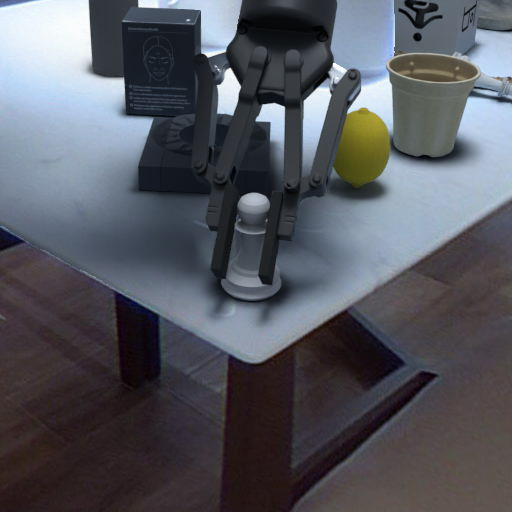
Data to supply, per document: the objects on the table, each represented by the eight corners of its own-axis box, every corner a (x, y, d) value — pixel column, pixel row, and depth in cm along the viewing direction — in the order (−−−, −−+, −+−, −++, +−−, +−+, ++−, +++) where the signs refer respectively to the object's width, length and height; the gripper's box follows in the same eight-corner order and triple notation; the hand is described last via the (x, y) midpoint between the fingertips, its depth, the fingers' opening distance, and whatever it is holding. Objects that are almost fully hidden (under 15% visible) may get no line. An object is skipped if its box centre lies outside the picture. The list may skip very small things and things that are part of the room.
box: (201, 100, 109) (202, 8, 104) (195, 118, 105) (195, 23, 99) (133, 96, 110) (130, 4, 105) (124, 114, 105) (120, 19, 100)
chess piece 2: (442, 93, 116) (522, 120, 113) (441, 77, 112) (524, 105, 109) (455, 61, 116) (535, 87, 114) (456, 45, 112) (539, 71, 109)
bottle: (83, 67, 118) (75, -58, 110) (121, 58, 121) (117, -64, 114) (110, 80, 114) (104, -49, 107) (150, 70, 118) (146, -55, 110)
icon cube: (485, -30, 126) (474, 44, 131) (412, -40, 130) (404, 32, 135) (463, -13, 118) (452, 65, 123) (387, -25, 122) (379, 52, 127)
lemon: (350, 205, 88) (358, 123, 84) (315, 182, 92) (321, 103, 88) (397, 192, 90) (407, 112, 86) (361, 170, 94) (369, 93, 90)
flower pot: (394, 122, 105) (403, 46, 101) (478, 140, 102) (491, 61, 98) (364, 153, 98) (372, 72, 94) (454, 172, 95) (466, 89, 90)
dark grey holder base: (138, 190, 89) (138, 165, 88) (156, 133, 101) (155, 110, 100) (267, 195, 89) (268, 171, 88) (270, 137, 101) (271, 115, 100)
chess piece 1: (286, 300, 73) (291, 207, 69) (224, 303, 73) (226, 210, 69) (275, 268, 77) (280, 179, 73) (217, 271, 77) (219, 181, 73)
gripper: (391, 25, 78) (350, 303, 73) (202, 8, 81) (148, 275, 75) (392, -25, 71) (347, 279, 65) (185, -42, 74) (124, 249, 68)
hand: (241, 276), depth 70 cm, fingers closed on chess piece 1, 3 cm apart
